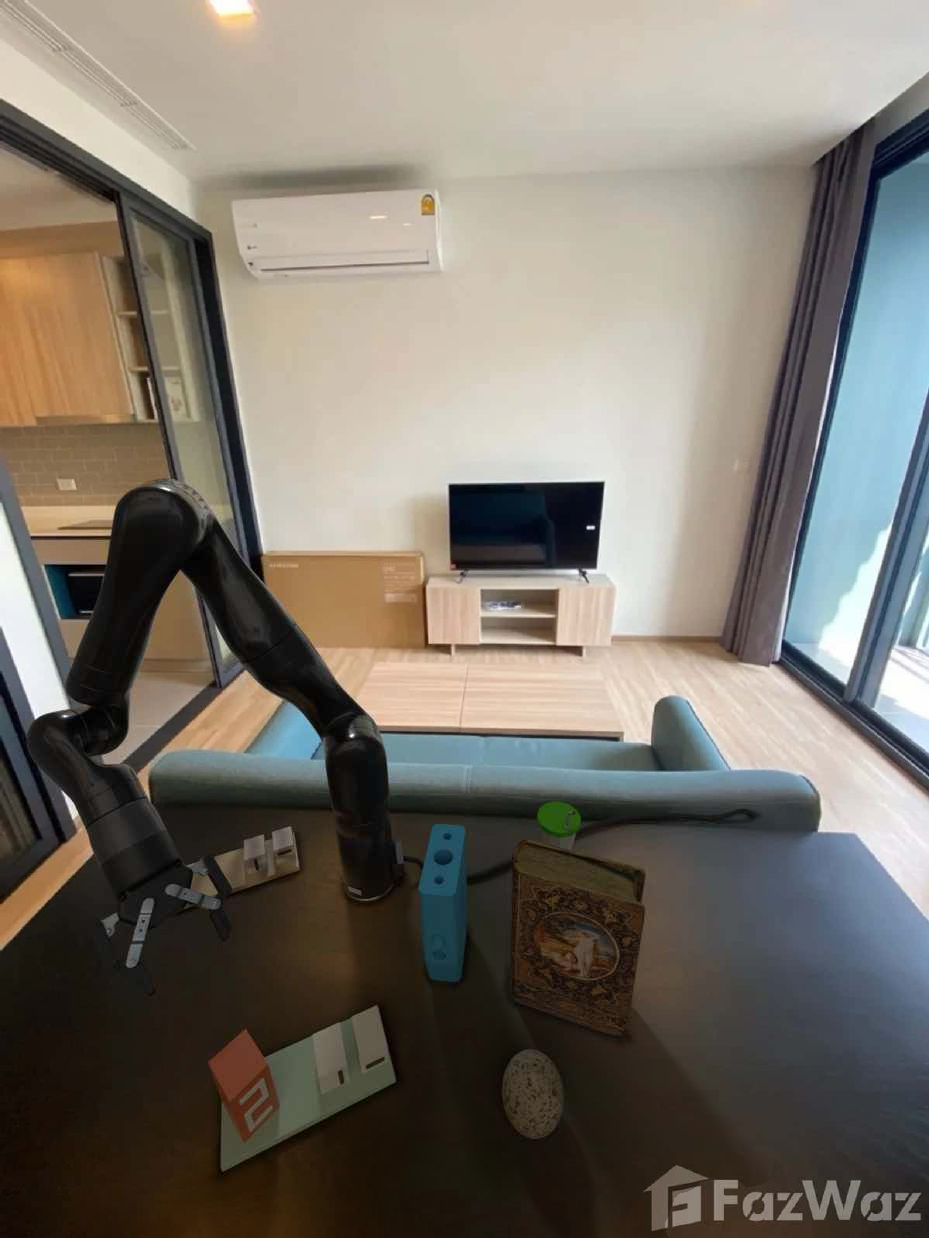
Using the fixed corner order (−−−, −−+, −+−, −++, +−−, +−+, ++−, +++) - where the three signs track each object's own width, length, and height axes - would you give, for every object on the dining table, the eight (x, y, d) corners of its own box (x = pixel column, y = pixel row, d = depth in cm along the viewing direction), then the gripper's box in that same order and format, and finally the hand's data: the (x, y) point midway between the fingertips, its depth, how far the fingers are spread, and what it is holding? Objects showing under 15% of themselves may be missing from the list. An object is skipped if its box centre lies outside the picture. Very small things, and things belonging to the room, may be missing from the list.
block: (459, 995, 72) (455, 896, 64) (425, 991, 72) (417, 893, 65) (468, 918, 83) (466, 825, 75) (438, 915, 83) (433, 823, 76)
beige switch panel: (294, 835, 100) (291, 818, 98) (299, 870, 92) (296, 852, 91) (183, 870, 93) (177, 852, 91) (178, 911, 85) (172, 892, 83)
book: (505, 998, 71) (507, 869, 62) (514, 961, 76) (517, 836, 67) (625, 1040, 66) (647, 907, 57) (626, 997, 71) (647, 868, 62)
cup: (535, 840, 97) (538, 779, 92) (576, 844, 96) (581, 782, 91) (534, 874, 90) (537, 810, 85) (578, 879, 89) (584, 814, 84)
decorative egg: (571, 1143, 57) (577, 1094, 53) (511, 1162, 56) (513, 1113, 52) (548, 1069, 63) (552, 1020, 60) (494, 1084, 62) (494, 1035, 58)
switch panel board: (378, 1009, 70) (375, 989, 68) (396, 1081, 63) (393, 1060, 61) (223, 1080, 63) (216, 1059, 61) (222, 1172, 55) (213, 1151, 54)
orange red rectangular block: (257, 1069, 63) (245, 1028, 60) (281, 1107, 60) (269, 1065, 56) (222, 1103, 60) (207, 1061, 57) (245, 1145, 57) (230, 1103, 53)
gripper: (63, 878, 55) (126, 1017, 53) (195, 807, 65) (254, 921, 62) (66, 886, 61) (123, 1012, 58) (188, 819, 70) (242, 924, 68)
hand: (191, 965), depth 60 cm, fingers open, 8 cm apart
